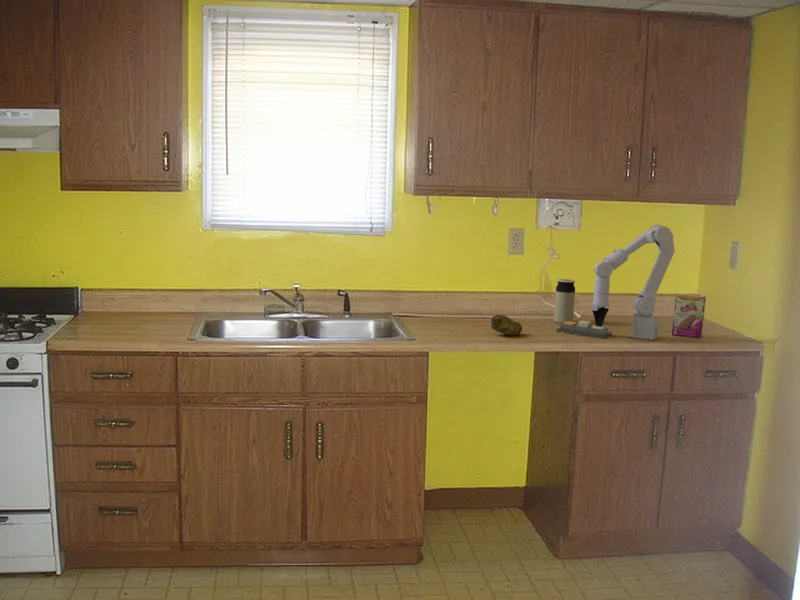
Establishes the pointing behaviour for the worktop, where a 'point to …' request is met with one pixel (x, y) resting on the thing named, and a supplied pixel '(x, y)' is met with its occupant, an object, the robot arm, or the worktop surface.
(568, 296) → the travel mug
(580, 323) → the button sage
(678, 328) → the candy bar box
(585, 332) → the panel
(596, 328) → the button cream
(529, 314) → the worktop surface
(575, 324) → the button orange
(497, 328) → the potato
